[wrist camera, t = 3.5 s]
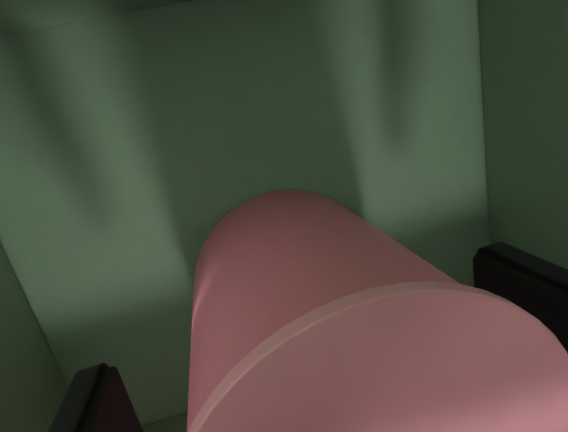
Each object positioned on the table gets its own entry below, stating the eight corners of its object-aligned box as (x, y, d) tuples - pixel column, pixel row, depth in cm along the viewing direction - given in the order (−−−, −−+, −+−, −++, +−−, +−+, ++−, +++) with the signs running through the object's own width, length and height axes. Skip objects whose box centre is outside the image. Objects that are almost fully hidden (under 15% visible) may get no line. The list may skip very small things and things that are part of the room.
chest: (495, 311, 17) (600, 382, 12) (87, 445, 14) (37, 593, 10) (477, -66, 12) (627, -164, 8) (-108, 35, 10) (-347, -23, 6)
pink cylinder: (266, 141, 12) (374, 190, 5) (412, 250, 14) (652, 408, 7) (147, 310, 13) (66, 601, 5) (304, 390, 15) (410, 679, 7)
